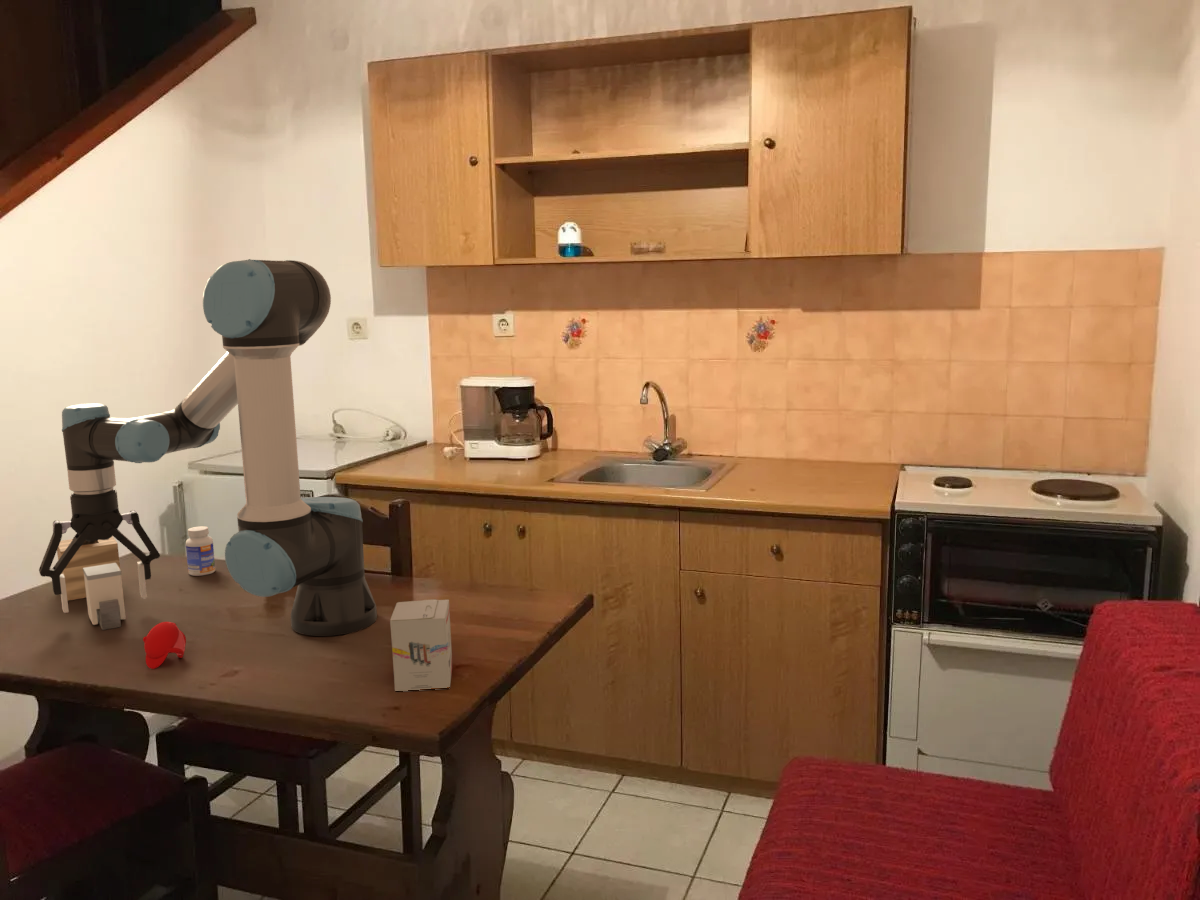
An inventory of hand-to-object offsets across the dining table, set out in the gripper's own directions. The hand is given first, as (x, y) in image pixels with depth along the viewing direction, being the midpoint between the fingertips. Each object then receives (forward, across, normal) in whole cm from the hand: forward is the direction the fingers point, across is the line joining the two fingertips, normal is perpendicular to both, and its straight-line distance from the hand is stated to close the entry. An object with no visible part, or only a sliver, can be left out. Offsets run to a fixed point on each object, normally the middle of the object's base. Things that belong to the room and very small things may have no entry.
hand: (105, 603), depth 178 cm
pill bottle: (+3, -21, -20) cm, 29 cm away
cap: (+3, -5, +27) cm, 27 cm away
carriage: (+3, 0, 0) cm, 3 cm away
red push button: (-7, 0, -21) cm, 22 cm away
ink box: (+3, -37, +59) cm, 70 cm away
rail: (+3, 0, -6) cm, 6 cm away
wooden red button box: (+3, 0, -21) cm, 21 cm away
